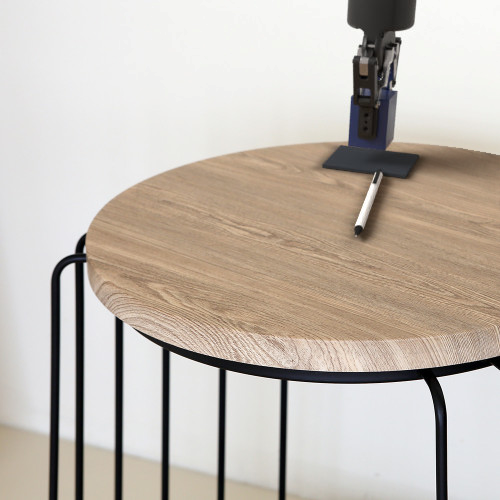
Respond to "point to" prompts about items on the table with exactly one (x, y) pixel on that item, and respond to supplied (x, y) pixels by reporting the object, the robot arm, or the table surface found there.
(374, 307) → the table surface
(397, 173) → the mat
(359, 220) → the pen
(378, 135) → the block
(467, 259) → the table surface
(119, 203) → the table surface
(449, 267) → the table surface
